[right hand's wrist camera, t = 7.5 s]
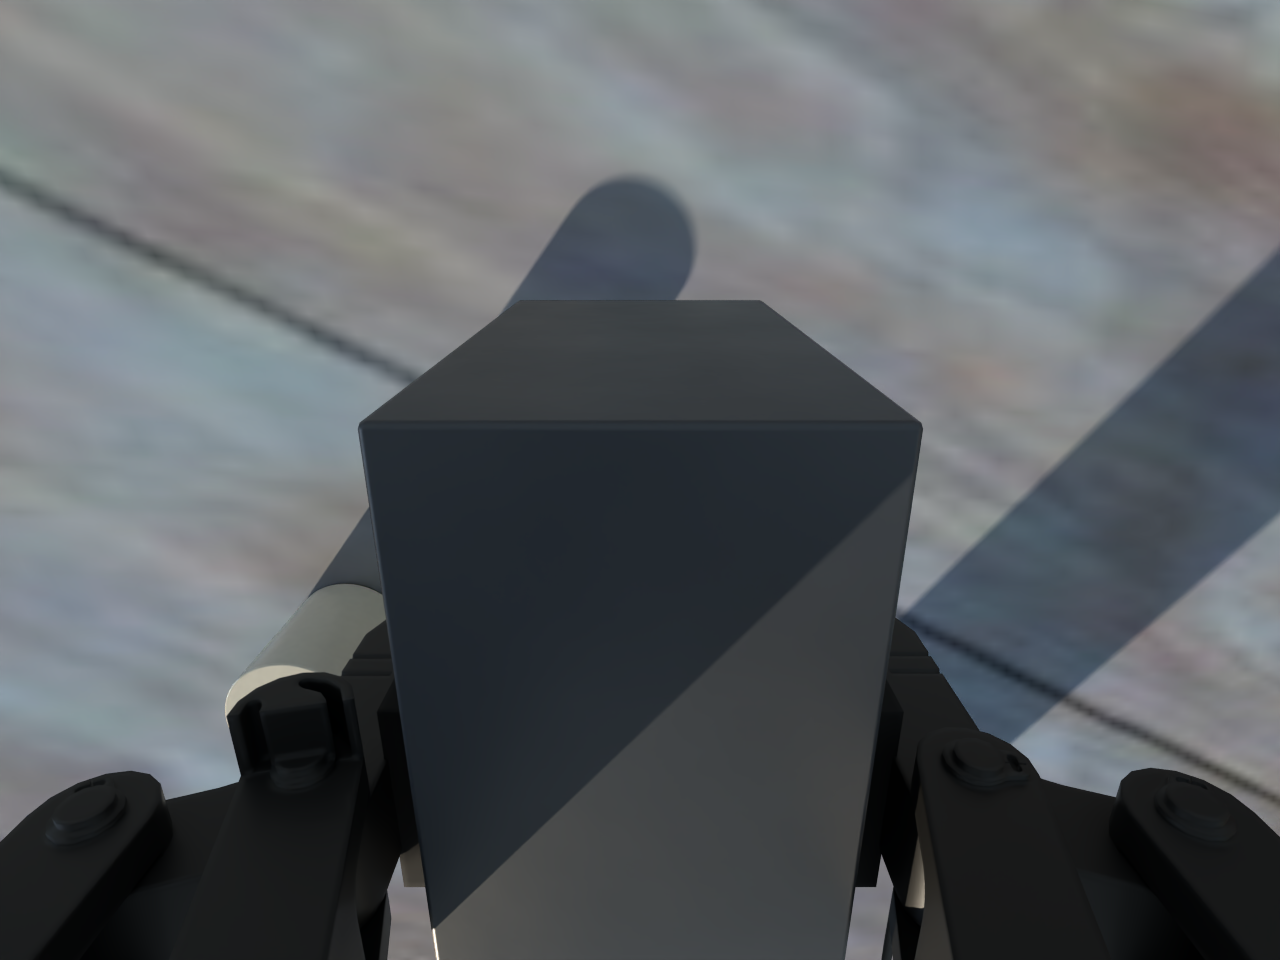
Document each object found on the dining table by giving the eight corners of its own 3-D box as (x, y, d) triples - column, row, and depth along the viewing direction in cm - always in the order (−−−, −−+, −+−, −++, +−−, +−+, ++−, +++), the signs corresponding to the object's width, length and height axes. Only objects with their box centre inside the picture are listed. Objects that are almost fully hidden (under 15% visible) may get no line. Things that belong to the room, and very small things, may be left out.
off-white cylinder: (288, 582, 31) (211, 663, 26) (402, 582, 31) (349, 663, 26) (307, 678, 33) (238, 773, 27) (415, 678, 33) (368, 773, 27)
